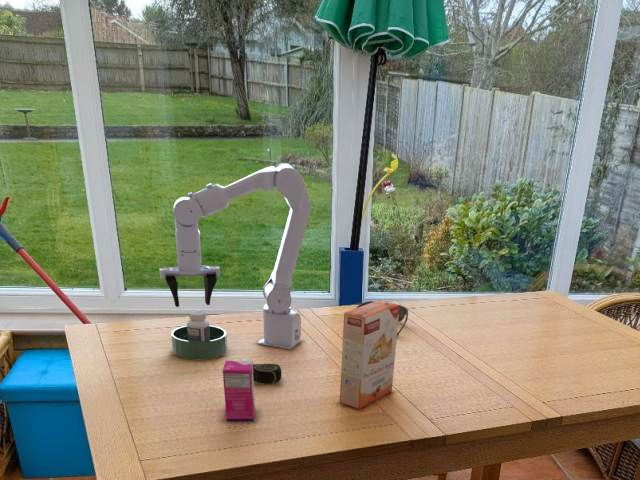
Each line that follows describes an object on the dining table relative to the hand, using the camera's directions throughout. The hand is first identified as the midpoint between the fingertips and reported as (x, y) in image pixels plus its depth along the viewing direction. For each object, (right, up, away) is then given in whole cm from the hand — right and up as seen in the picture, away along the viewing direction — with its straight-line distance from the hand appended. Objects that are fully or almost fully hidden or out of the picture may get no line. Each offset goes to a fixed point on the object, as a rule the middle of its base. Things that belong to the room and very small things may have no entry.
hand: (192, 304), depth 184 cm
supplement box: (+18, -31, -31) cm, 48 cm away
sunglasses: (+47, 0, +28) cm, 54 cm away
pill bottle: (+2, -12, 0) cm, 12 cm away
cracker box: (+45, -26, -19) cm, 55 cm away
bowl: (+2, -12, 0) cm, 12 cm away
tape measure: (+21, -21, -13) cm, 33 cm away
